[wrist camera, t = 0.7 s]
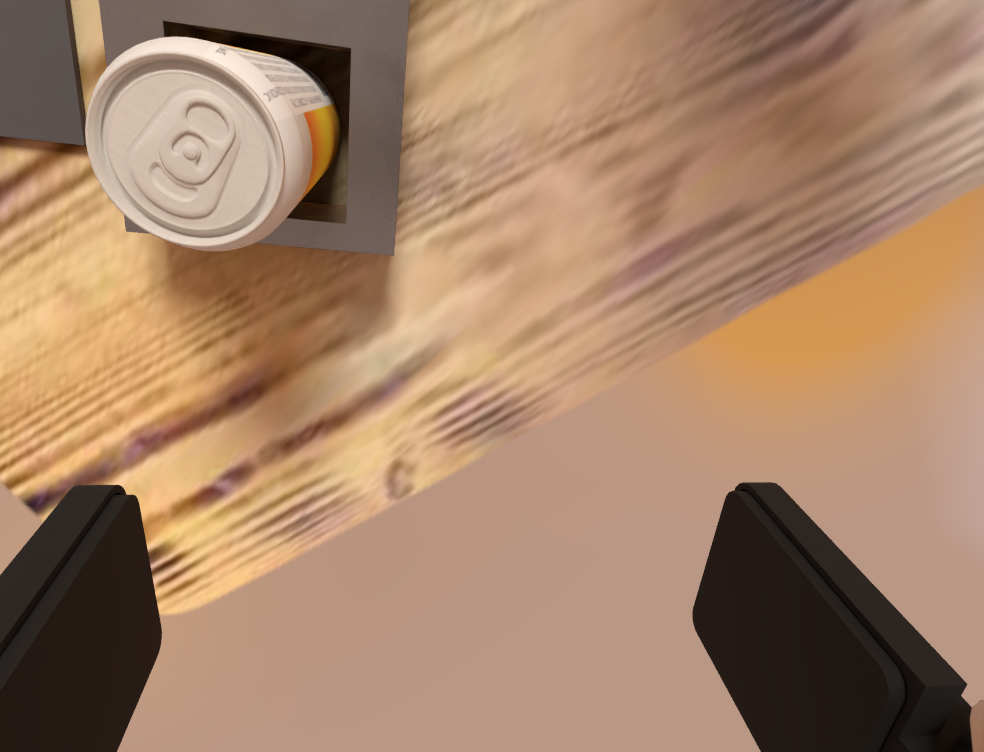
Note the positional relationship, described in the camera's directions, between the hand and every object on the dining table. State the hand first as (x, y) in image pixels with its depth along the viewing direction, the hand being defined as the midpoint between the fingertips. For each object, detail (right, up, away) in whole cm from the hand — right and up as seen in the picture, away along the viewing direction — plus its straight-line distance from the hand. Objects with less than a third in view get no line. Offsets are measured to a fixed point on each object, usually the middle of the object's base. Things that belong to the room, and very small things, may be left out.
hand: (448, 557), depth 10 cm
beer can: (-10, +16, +21) cm, 28 cm away
